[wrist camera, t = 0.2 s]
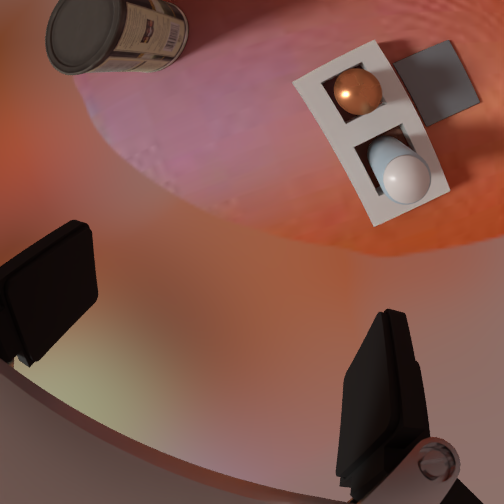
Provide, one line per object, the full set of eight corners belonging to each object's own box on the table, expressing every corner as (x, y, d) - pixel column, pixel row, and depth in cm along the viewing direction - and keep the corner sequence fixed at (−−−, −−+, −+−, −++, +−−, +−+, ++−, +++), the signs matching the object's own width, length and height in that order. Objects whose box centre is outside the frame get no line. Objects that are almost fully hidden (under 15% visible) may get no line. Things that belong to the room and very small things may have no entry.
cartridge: (394, 128, 32) (419, 143, 22) (411, 164, 33) (440, 193, 23) (360, 145, 34) (370, 167, 24) (378, 180, 35) (394, 215, 25)
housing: (371, 44, 28) (374, 39, 25) (442, 183, 33) (450, 190, 30) (295, 83, 32) (292, 82, 29) (371, 216, 37) (373, 226, 34)
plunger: (360, 66, 27) (365, 60, 22) (381, 101, 29) (390, 102, 23) (326, 84, 29) (324, 81, 24) (346, 118, 30) (349, 123, 25)
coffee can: (116, 18, 32) (41, 7, 20) (183, -9, 29) (117, -41, 17) (126, 82, 36) (49, 89, 24) (194, 61, 33) (127, 52, 21)
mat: (447, 40, 25) (448, 39, 24) (478, 102, 27) (479, 102, 27) (392, 63, 28) (393, 63, 28) (426, 126, 30) (427, 126, 30)
